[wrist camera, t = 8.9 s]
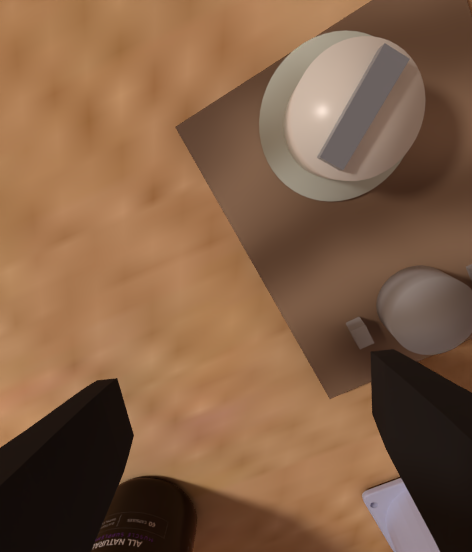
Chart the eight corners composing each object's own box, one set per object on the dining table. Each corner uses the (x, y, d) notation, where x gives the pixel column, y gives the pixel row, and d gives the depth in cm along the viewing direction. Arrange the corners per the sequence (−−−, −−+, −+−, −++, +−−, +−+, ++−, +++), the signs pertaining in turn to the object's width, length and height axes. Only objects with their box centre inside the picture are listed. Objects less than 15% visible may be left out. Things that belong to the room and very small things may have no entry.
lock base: (543, 294, 18) (597, 317, 16) (326, 388, 21) (338, 423, 18) (437, -36, 14) (485, -88, 11) (179, 129, 17) (165, 121, 14)
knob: (352, 197, 16) (380, 205, 13) (264, 147, 16) (268, 141, 12) (413, 97, 15) (463, 76, 11) (319, 39, 14) (342, -2, 11)
